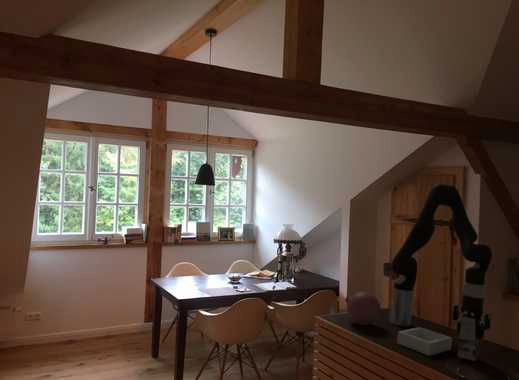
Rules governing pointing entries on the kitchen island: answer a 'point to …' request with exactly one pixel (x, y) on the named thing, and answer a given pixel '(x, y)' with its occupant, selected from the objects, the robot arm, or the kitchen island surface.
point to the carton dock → (424, 341)
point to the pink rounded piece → (363, 308)
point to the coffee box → (469, 337)
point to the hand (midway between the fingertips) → (469, 335)
